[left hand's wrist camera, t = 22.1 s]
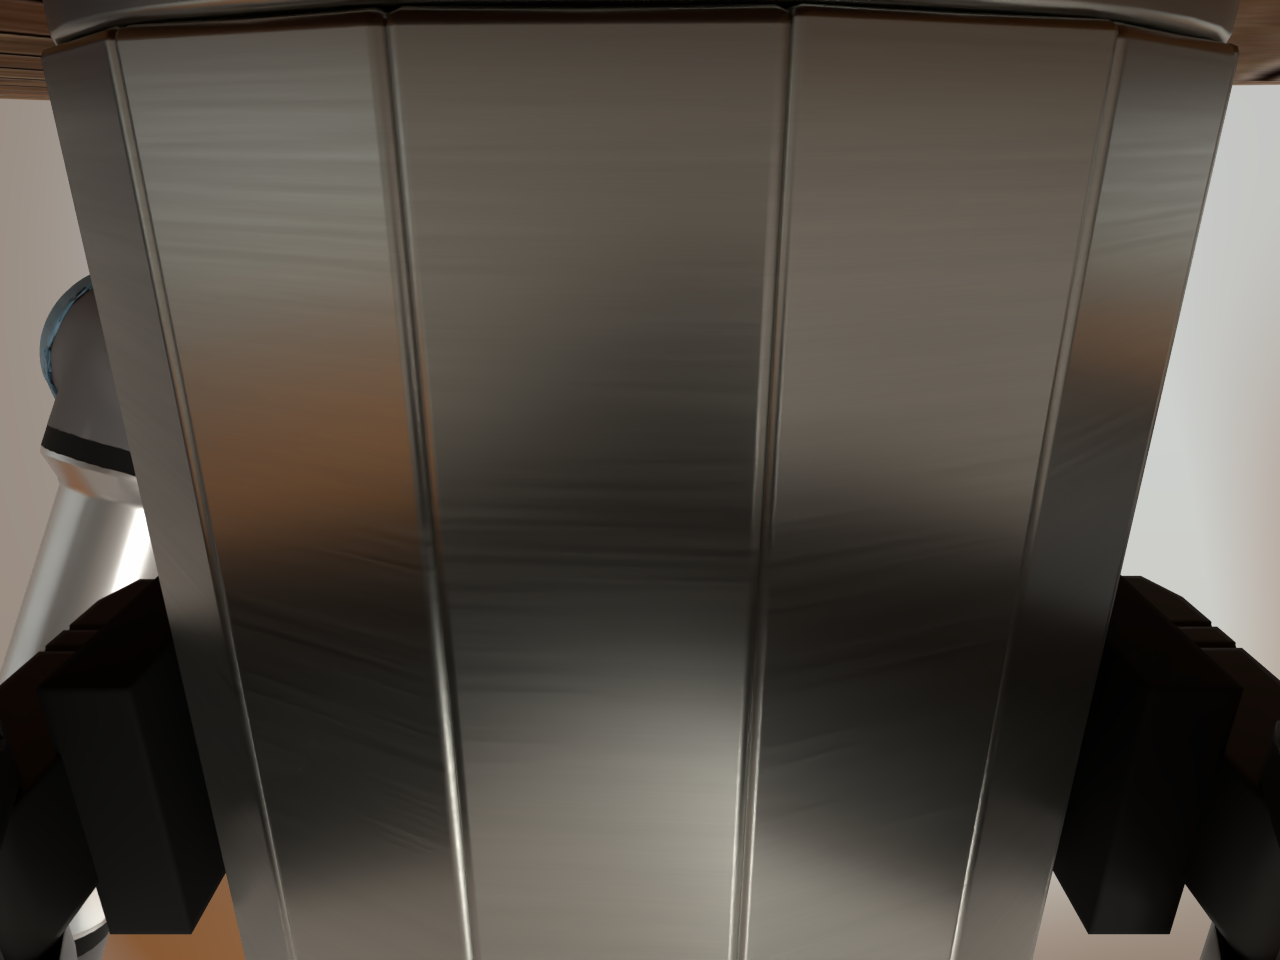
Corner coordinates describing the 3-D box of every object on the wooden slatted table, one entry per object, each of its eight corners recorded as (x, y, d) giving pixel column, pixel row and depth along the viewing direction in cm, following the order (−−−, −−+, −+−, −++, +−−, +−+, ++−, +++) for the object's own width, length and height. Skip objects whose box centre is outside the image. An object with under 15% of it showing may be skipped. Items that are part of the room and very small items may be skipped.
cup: (1187, 18, 9) (1024, 806, 13) (499, 48, 12) (532, 665, 16) (1534, -392, 2) (943, 1639, 6) (-285, -64, 5) (98, 1079, 9)
